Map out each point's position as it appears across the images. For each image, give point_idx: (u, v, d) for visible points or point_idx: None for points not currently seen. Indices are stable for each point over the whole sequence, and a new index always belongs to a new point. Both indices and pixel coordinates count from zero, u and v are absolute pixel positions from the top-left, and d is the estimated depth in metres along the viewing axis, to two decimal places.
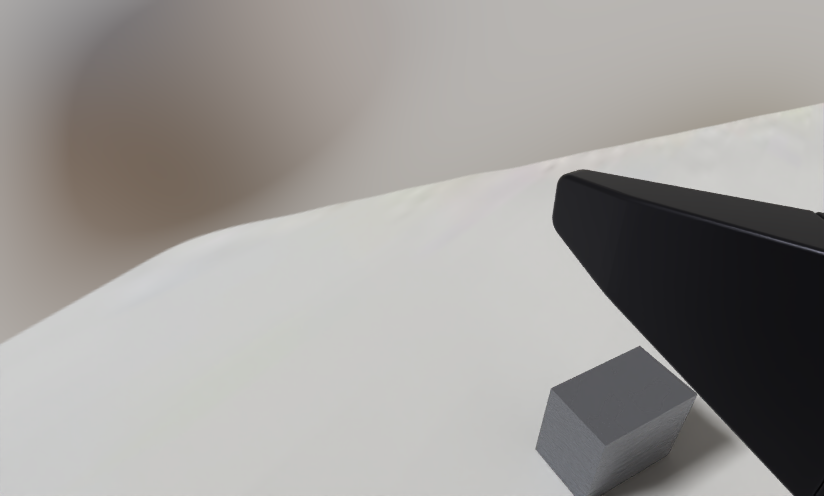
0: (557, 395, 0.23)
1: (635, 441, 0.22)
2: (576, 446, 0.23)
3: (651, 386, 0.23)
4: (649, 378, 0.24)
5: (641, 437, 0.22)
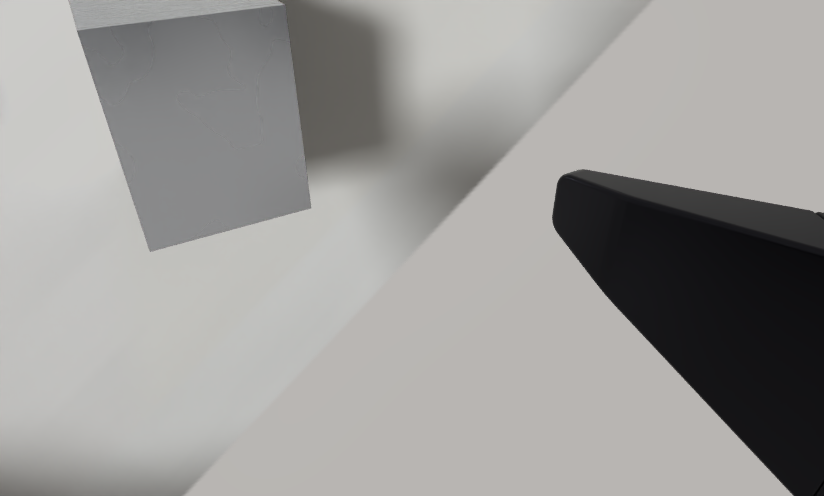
0: None
1: None
2: None
3: None
4: None
5: None
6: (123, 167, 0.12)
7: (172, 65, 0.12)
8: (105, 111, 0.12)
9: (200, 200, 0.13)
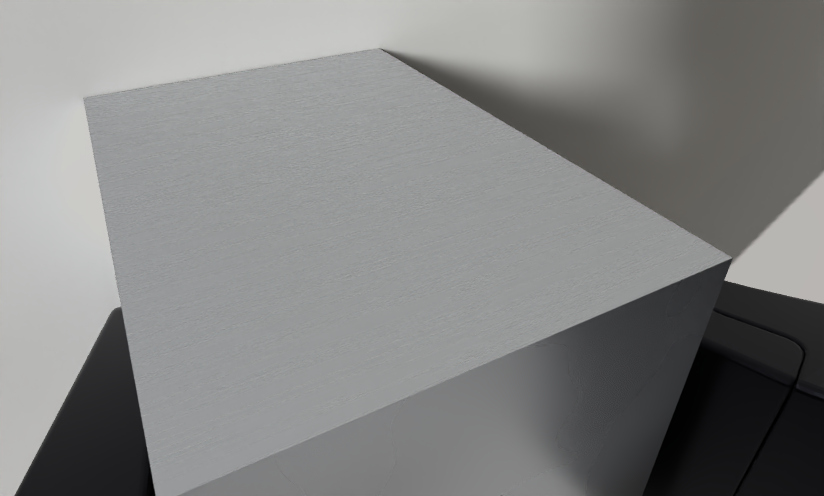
0: None
1: None
2: None
3: None
4: None
5: None
6: None
7: (431, 479, 0.04)
8: None
9: None
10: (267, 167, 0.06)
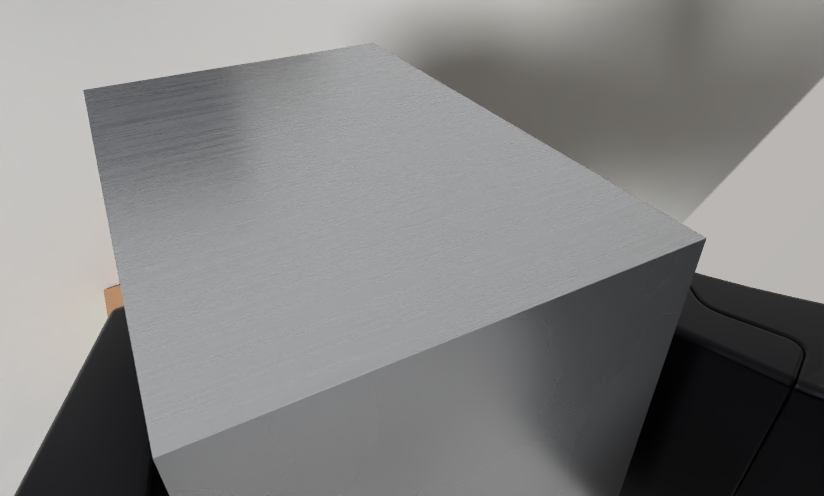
0: None
1: None
2: None
3: None
4: None
5: None
6: None
7: (416, 446, 0.04)
8: None
9: None
10: (260, 154, 0.06)
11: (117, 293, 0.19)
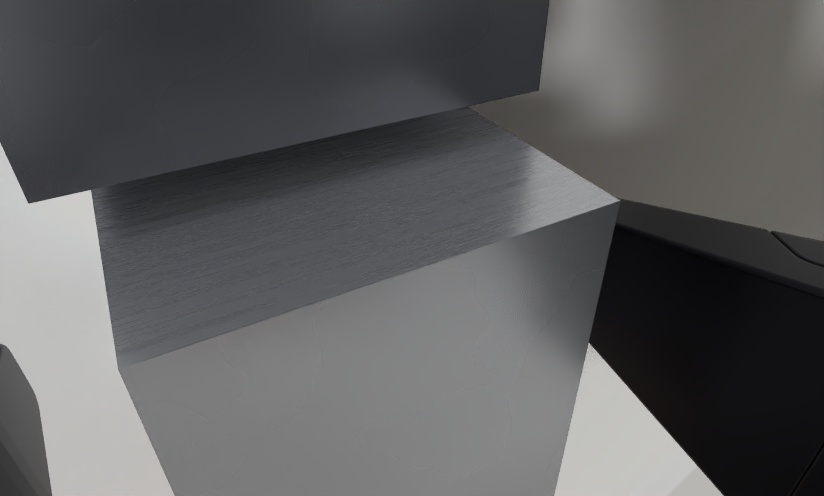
0: None
1: None
2: None
3: None
4: None
5: None
6: None
7: (356, 380, 0.04)
8: None
9: None
10: None
11: None
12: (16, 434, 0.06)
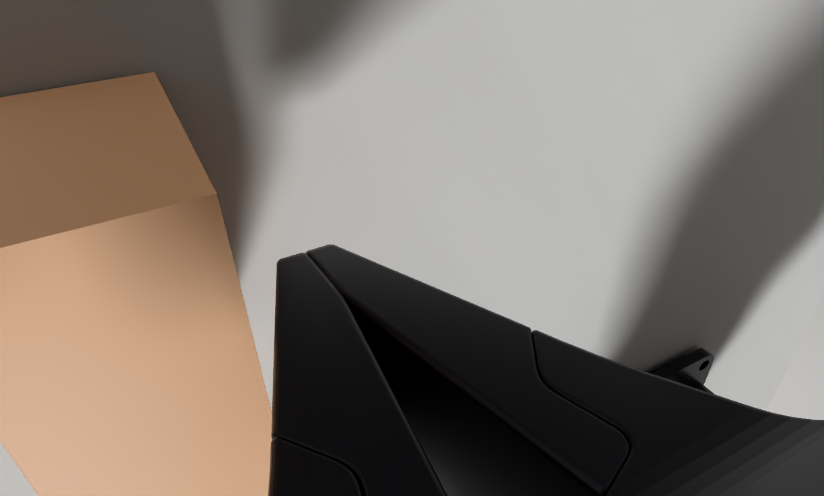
0: None
1: None
2: None
3: None
4: None
5: None
6: None
7: None
8: None
9: None
10: None
11: None
12: None
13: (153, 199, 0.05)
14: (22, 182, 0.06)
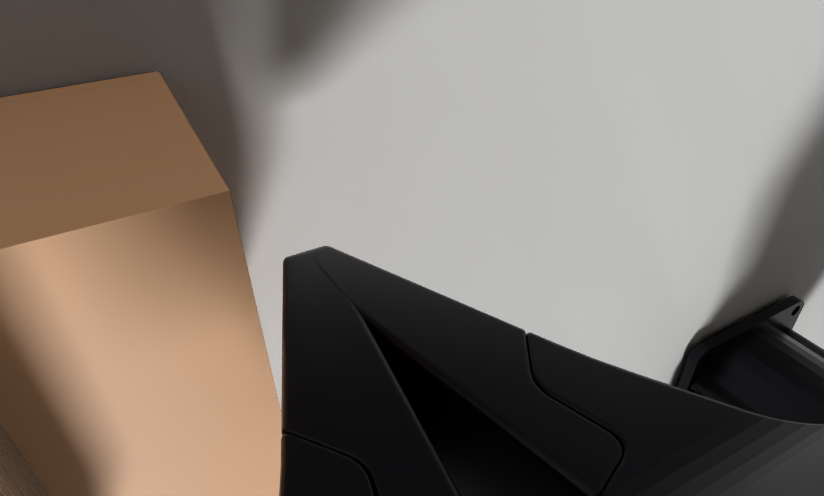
0: None
1: None
2: None
3: None
4: None
5: None
6: None
7: None
8: None
9: None
10: None
11: None
12: None
13: (166, 195, 0.05)
14: (33, 180, 0.06)
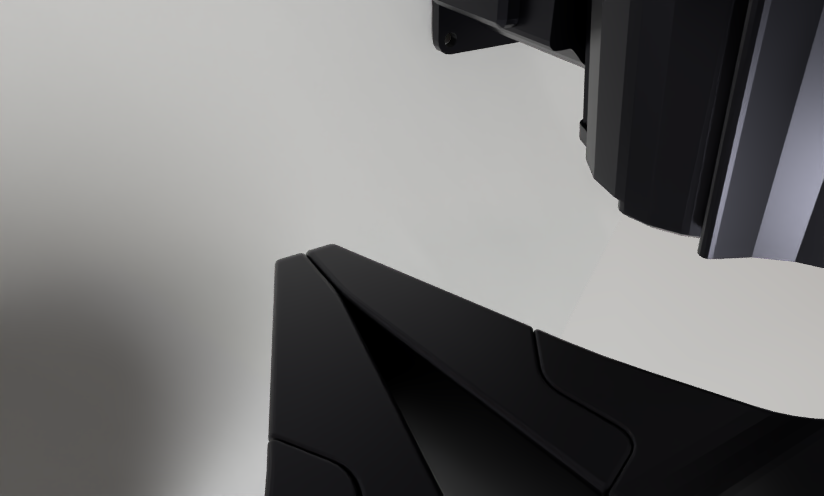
0: None
1: None
2: None
3: None
4: None
5: None
6: None
7: None
8: None
9: None
10: None
11: None
12: None
13: None
14: None
